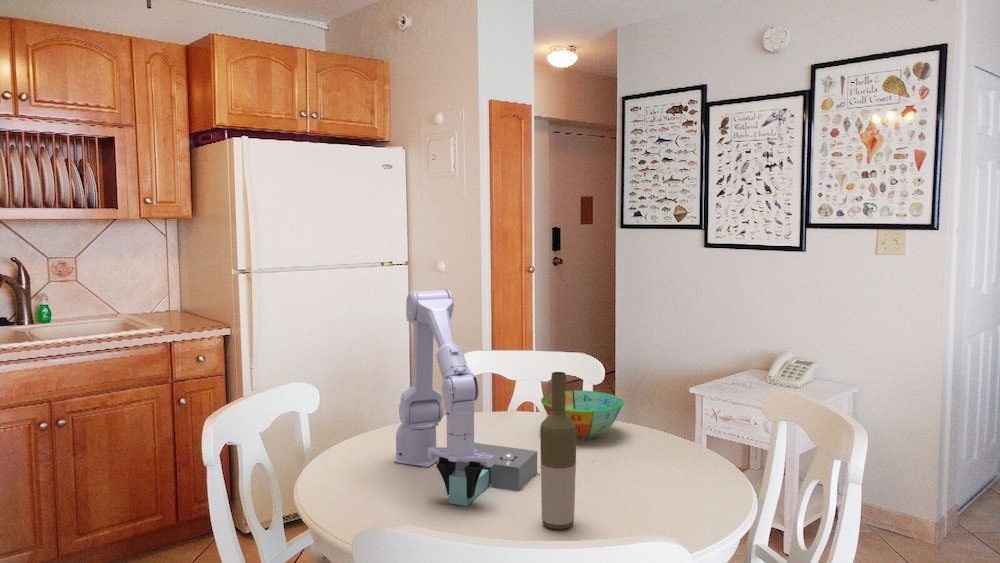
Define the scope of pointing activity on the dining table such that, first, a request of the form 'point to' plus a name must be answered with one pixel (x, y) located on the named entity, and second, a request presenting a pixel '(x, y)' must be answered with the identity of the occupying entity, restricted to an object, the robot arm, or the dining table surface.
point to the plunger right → (508, 456)
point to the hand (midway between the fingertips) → (460, 495)
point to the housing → (507, 466)
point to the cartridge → (460, 486)
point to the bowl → (588, 411)
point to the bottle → (558, 460)
